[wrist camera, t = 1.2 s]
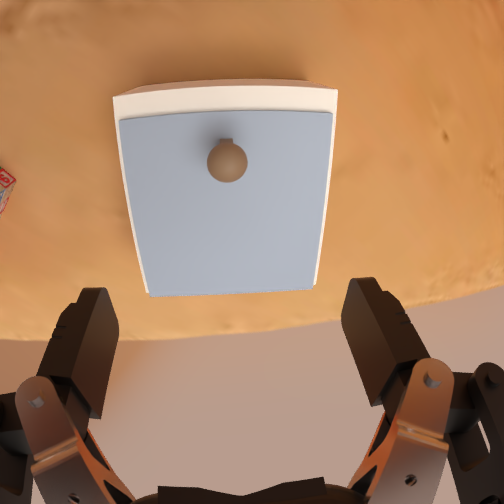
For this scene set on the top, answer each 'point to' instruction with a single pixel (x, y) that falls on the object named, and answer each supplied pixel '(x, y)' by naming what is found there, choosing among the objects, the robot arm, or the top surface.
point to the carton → (220, 99)
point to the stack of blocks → (5, 188)
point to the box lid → (227, 198)
